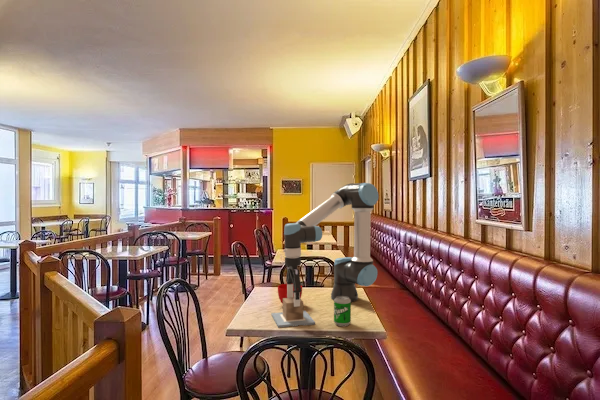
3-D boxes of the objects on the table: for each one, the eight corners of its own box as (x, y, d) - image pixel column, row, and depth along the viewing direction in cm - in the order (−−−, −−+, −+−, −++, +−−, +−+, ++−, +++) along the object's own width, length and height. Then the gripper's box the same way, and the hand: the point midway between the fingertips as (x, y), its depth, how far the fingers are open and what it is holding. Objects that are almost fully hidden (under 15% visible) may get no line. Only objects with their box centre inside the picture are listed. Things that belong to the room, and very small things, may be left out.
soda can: (339, 320, 171) (340, 294, 170) (353, 323, 166) (353, 297, 166) (330, 324, 165) (330, 297, 165) (344, 328, 160) (345, 301, 160)
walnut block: (298, 313, 176) (299, 297, 176) (303, 319, 168) (303, 301, 168) (282, 315, 174) (282, 298, 174) (286, 320, 166) (286, 303, 166)
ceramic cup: (303, 299, 203) (303, 282, 203) (300, 309, 186) (301, 289, 186) (280, 299, 204) (280, 281, 204) (275, 308, 187) (275, 289, 187)
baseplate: (305, 312, 181) (305, 310, 181) (315, 324, 165) (315, 321, 165) (271, 315, 177) (271, 312, 177) (278, 327, 160) (278, 325, 160)
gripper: (279, 252, 181) (280, 295, 182) (291, 262, 157) (291, 311, 158) (294, 251, 183) (295, 293, 184) (307, 261, 159) (308, 309, 160)
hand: (293, 301), depth 171 cm, fingers open, 13 cm apart
